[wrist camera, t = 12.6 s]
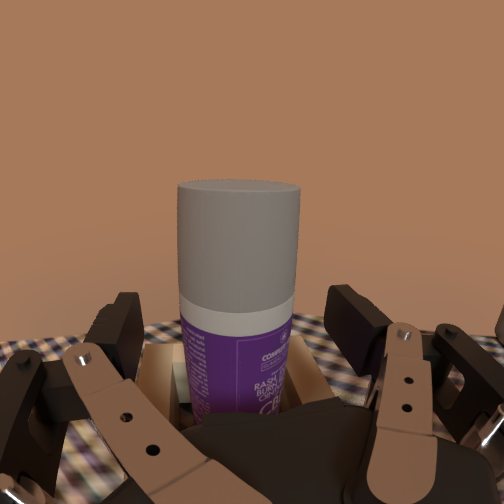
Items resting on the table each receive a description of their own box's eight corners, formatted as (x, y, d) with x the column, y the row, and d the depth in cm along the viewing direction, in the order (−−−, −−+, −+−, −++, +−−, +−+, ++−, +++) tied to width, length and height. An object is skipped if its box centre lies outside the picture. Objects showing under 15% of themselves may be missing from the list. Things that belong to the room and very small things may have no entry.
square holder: (294, 375, 21) (300, 335, 20) (346, 490, 11) (370, 458, 10) (154, 384, 19) (145, 343, 18) (145, 513, 9) (123, 487, 8)
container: (268, 475, 12) (306, 195, 8) (189, 461, 13) (150, 189, 8) (276, 418, 17) (302, 183, 12) (208, 409, 17) (198, 178, 13)
